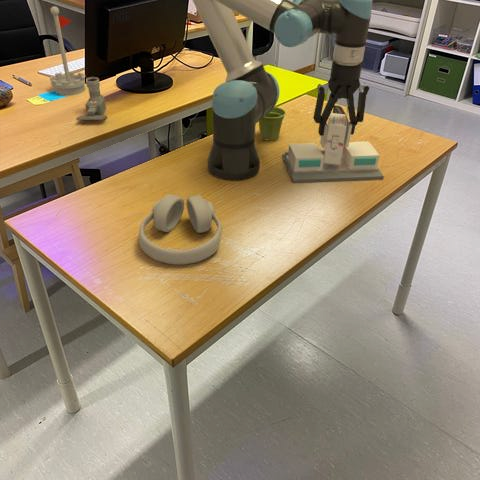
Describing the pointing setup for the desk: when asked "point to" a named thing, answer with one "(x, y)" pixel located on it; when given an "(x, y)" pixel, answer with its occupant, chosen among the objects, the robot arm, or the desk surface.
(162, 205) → the headphones
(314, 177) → the rail panel
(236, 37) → the robot arm
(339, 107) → the mobile phone
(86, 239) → the desk surface
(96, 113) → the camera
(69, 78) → the flag stand
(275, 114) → the plant pot
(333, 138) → the ink cartridge box
